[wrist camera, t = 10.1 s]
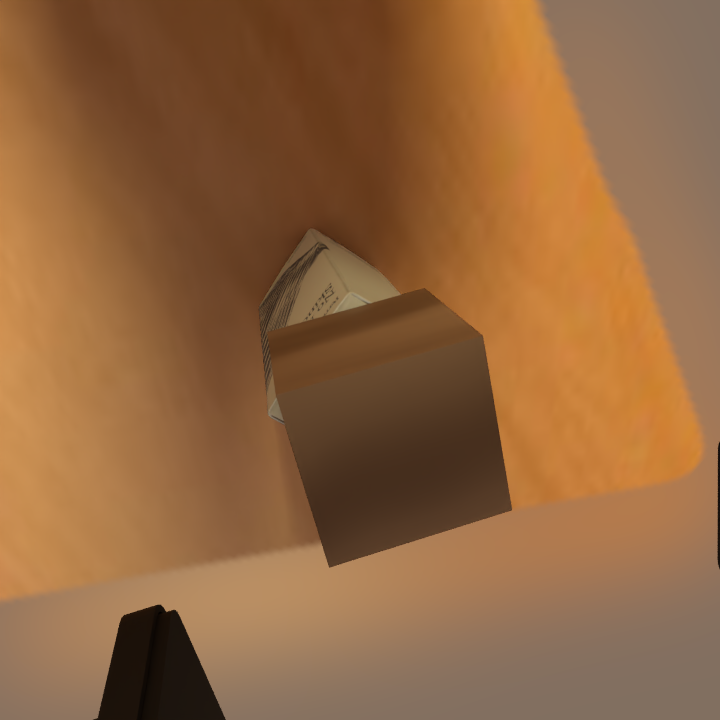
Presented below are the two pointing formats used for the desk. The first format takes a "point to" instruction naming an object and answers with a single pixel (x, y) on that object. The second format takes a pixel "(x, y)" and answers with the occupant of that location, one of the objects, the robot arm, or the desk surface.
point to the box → (316, 293)
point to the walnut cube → (390, 423)
